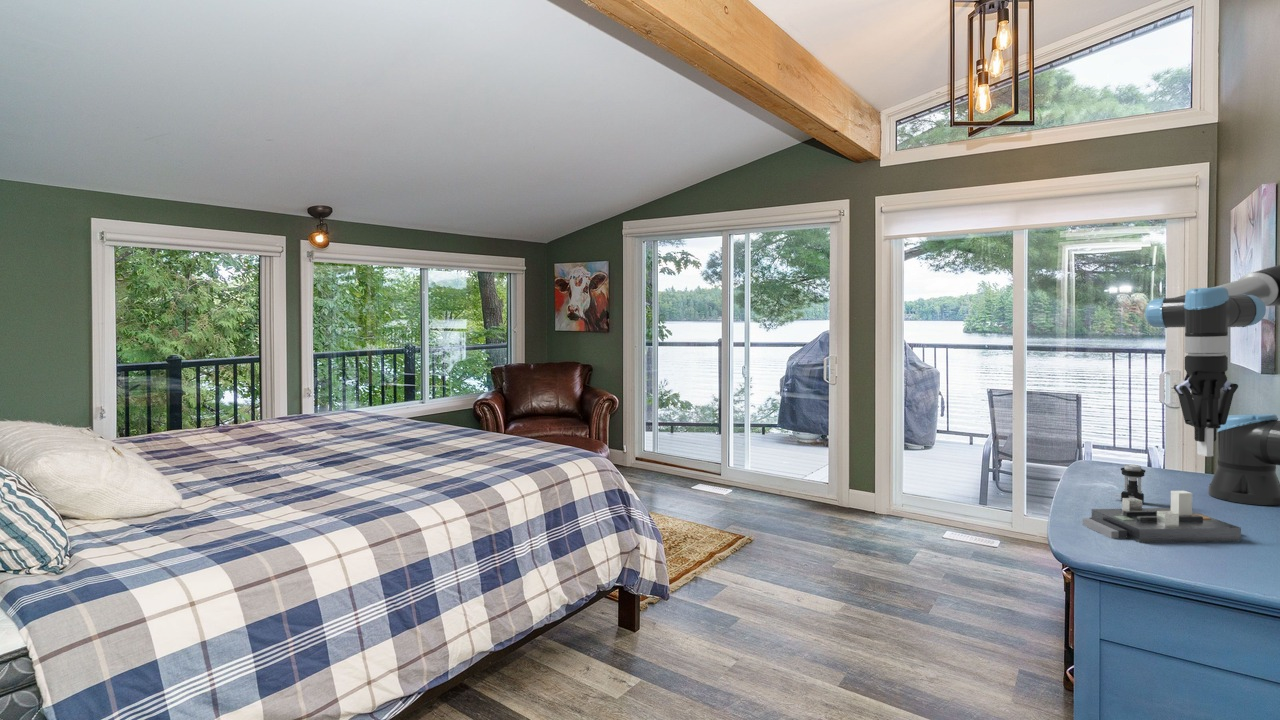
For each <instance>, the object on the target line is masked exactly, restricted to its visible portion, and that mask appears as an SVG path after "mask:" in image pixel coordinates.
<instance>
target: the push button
mask: <svg viewBox="0 0 1280 720" xmlns="http://www.w3.org/2000/svg"><path fill="white" fill-rule="evenodd" d="M1120 470H1121V475H1122V476H1124V487H1123V491H1121V493H1120V494H1116V493H1114V496H1119V497H1115V499H1117V500H1121V502H1122V498H1137V499H1139V500H1142V505H1143V504H1144V503H1145V494H1144V492H1143V490H1142V478H1143V477H1145V473H1146V470H1145V469H1143V468H1142V466H1141V465H1138V464H1125V465H1124V466H1123V467H1120Z"/></svg>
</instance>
